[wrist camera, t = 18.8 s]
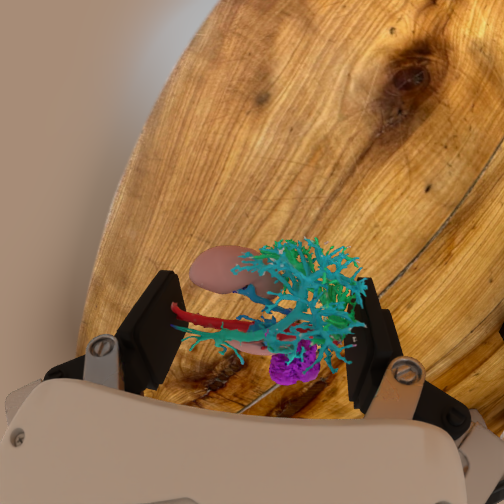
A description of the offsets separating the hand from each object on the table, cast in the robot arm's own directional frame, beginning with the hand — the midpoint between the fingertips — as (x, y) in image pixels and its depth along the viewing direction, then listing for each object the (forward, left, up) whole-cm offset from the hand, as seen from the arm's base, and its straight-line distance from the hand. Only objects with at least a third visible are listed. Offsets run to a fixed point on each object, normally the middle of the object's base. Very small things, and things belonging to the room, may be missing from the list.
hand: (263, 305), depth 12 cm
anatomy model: (0, 0, -1) cm, 1 cm away
